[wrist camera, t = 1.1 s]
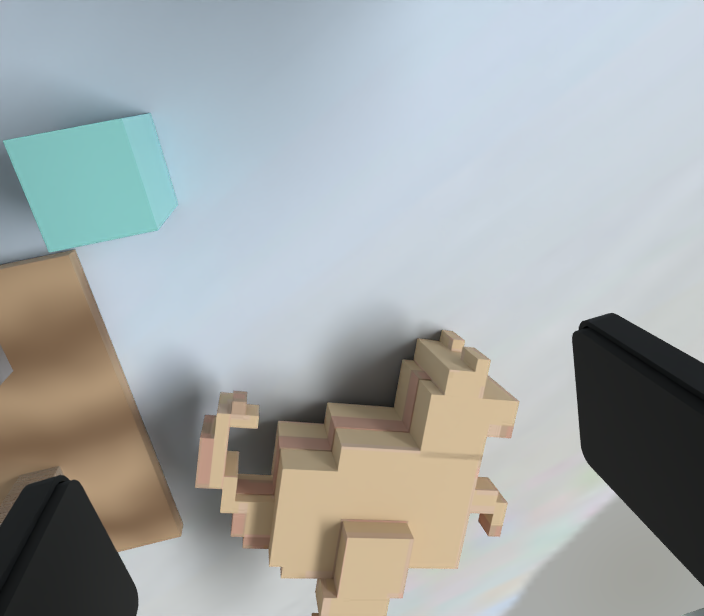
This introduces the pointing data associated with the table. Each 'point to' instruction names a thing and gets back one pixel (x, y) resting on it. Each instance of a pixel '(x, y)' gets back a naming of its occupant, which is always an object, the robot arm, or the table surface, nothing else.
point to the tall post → (21, 482)
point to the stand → (75, 402)
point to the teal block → (94, 181)
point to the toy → (369, 480)
